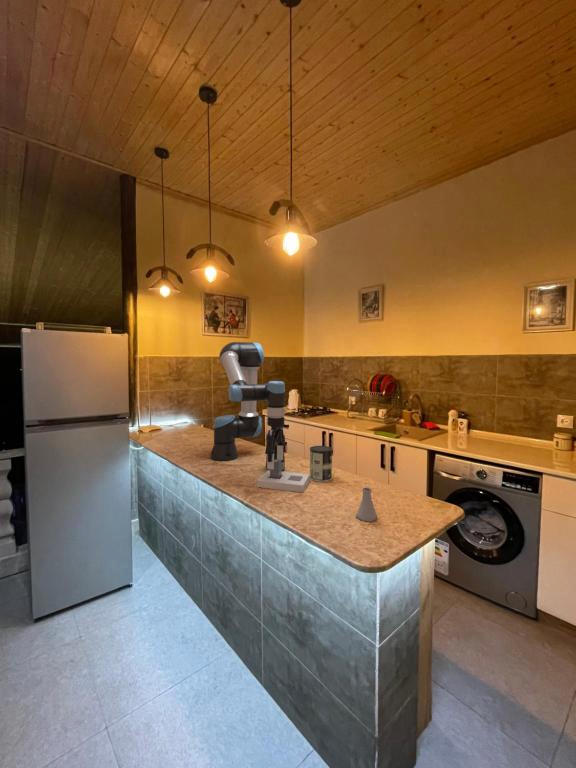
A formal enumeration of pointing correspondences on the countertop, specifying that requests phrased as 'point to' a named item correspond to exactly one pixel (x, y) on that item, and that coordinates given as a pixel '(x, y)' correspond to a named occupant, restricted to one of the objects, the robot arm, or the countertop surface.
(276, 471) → the cylinder
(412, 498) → the countertop surface
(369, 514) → the flask
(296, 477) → the outlet plate
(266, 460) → the coffee jar
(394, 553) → the countertop surface
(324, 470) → the coffee can
